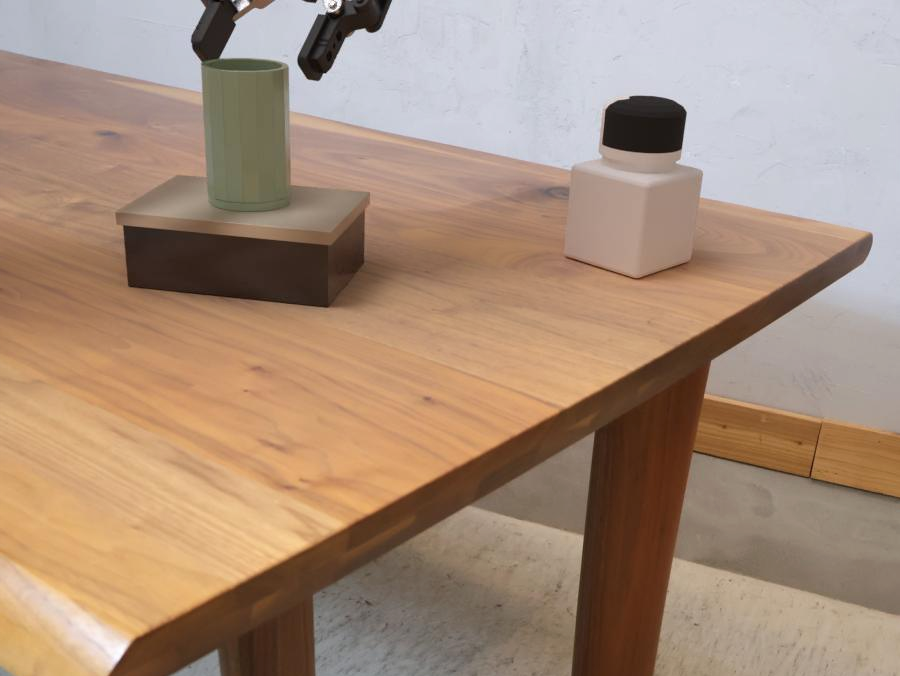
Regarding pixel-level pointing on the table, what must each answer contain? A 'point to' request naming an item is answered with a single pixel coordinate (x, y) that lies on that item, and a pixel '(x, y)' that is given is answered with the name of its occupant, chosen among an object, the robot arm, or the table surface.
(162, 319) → the table surface
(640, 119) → the medicine bottle
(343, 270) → the shoebox
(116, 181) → the table surface
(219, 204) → the cup
